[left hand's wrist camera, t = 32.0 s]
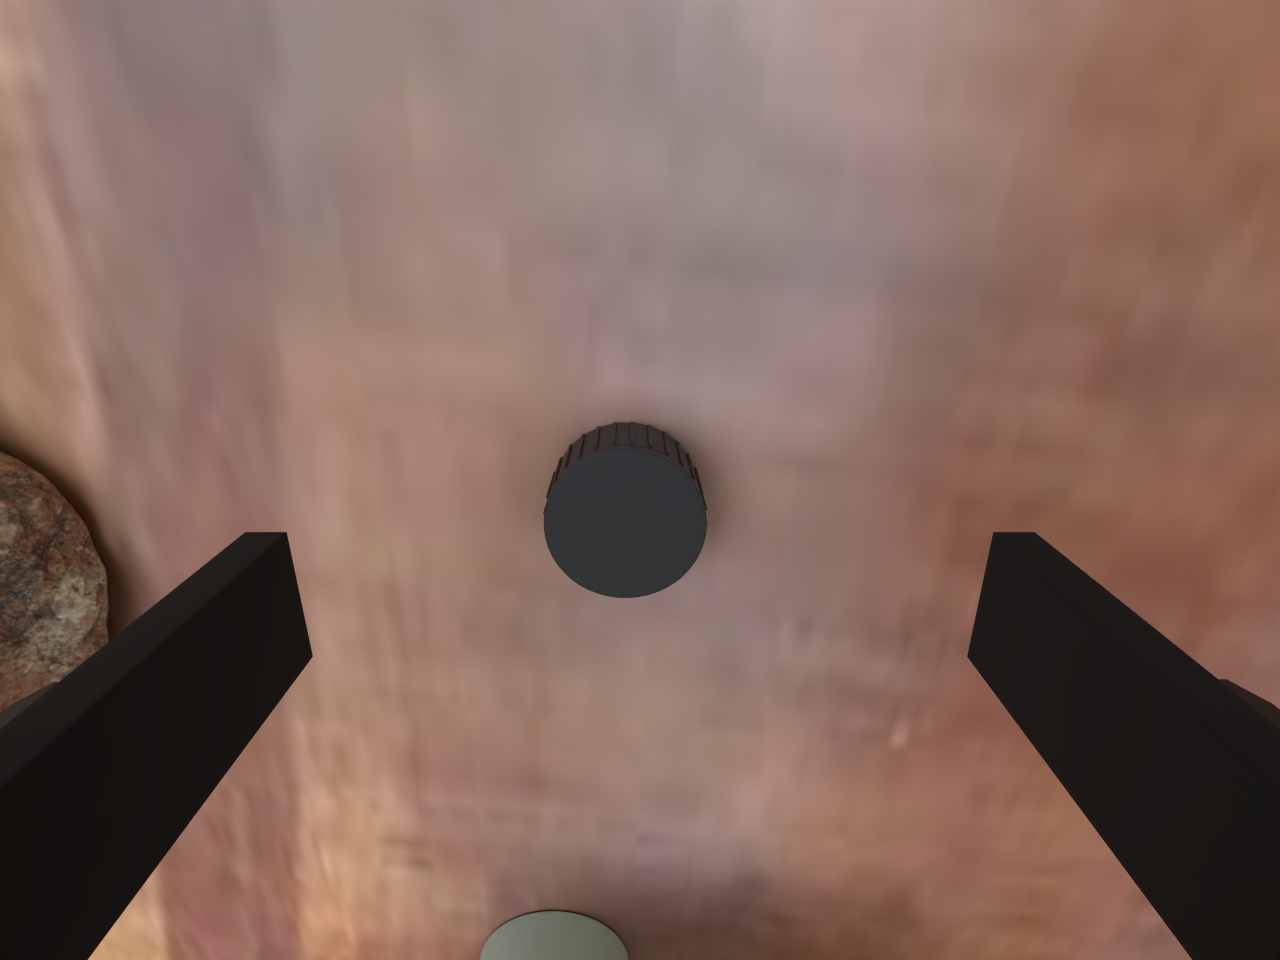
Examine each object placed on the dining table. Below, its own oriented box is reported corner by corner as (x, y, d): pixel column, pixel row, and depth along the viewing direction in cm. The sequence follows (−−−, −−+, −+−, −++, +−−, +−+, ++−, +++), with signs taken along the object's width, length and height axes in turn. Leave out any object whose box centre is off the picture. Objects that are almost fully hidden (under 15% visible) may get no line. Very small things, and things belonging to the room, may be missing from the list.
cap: (556, 559, 20) (547, 602, 17) (546, 422, 18) (535, 449, 16) (698, 555, 20) (708, 597, 17) (699, 418, 18) (709, 445, 16)
